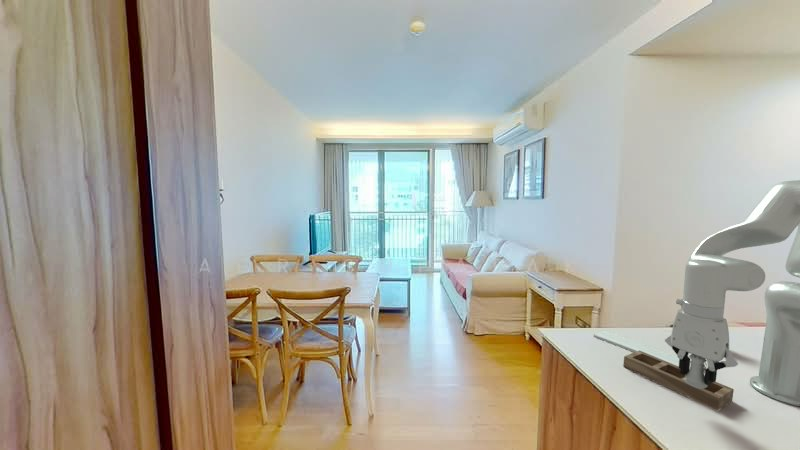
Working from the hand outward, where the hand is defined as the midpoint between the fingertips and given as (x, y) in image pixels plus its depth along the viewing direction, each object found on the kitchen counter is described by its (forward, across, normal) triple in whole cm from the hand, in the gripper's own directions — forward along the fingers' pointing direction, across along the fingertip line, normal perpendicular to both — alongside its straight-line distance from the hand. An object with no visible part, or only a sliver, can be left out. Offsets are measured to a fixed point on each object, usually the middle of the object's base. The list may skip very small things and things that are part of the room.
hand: (696, 377), depth 82 cm
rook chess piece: (+2, 0, 0) cm, 2 cm away
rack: (+9, -8, +9) cm, 15 cm away
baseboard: (+10, -23, +23) cm, 34 cm away
